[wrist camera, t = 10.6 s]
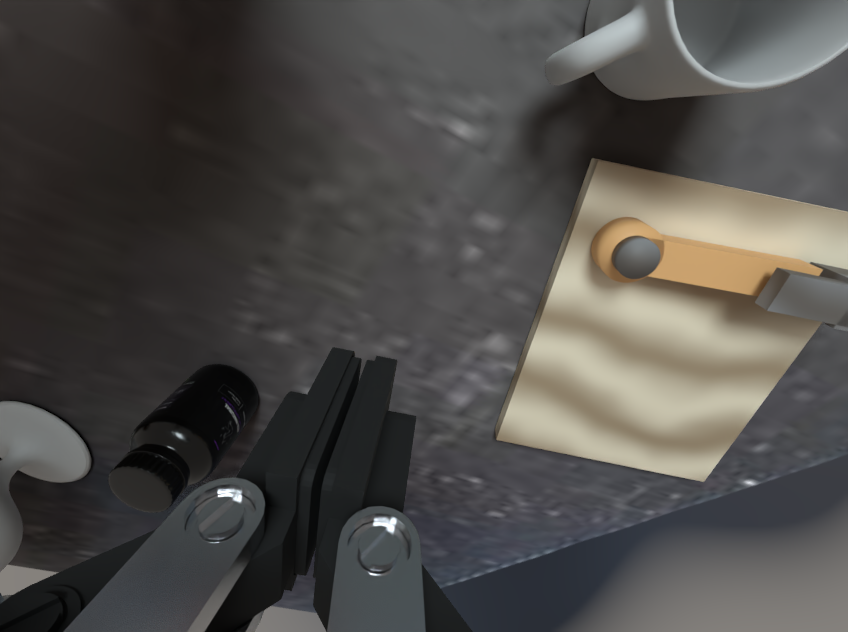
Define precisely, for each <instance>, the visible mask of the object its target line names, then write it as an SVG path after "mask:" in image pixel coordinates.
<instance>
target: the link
mask: <svg viewBox="0 0 848 632" xmlns="http://www.w3.org/2000/svg"><path fill="white" fill-rule="evenodd" d="M630 236H643V237H645V238H647V239H649V240H650V241H652V242H653V243H655V244H656V245H657V247H658V248H659V250H660V261H659V264H658V266H657V267H656V269H655V270H654V271H653V272H652V273H651V274H649V275H647V276H649V277H654V278H660V279H665V280H671V281H676V282H682V283H687V284H693V285H698V286H704V287H709V288H715V289H720V290H726V291H731V292H736V293H742V294H747V295H753V296H759V295H760V293H761V292H762V290H763V288H764V287H765V285H766V284H767V282H768V281H769V279H770V277H771V276H772V274H773V273H774V271H775V270H776V268H777V267H778V268H783V269H787V270H792V271H797V272H802V273H807V274H811V275H816V276H819V275H820V274H821V272H822V271H823V269H821V268H818V267H816V266H814V265H811V264H809V263H807V262H805V261H802V260H800V259H794V258H789V257H784V256H778V255H773V254H767V253H762V252H756V251H751V250H745V249H740V248H734V247H729V246H723V245H718V244H712V243H707V242H701V241H696V240H690V239H685V238H679V237H674V236H668V235H663V234H660V233H659V232H658V231H657V230H656V229H654V228H652V227H651V226H649V225H647V224H646V223H644V222H642V221H641V220H639V219H637V218H633V217H621V218H617V219H614V220H612V221H610V222H608V223H607V224H605V225H604V226H603V227H602V228H601V229H600V230H599V231H598V232H597V234H596V235H595V237H594V240H593V242H592V247H591V252H592V257H593V259H594V261H595V263H596V264H597V265H598V266H599V267H600V269H601V270H602V271H603V272H604V273H605V274H606V275H607V276H608V277H609V278H611V279H612V280H614V281H617V282H622V283H630V282H635V281H639V280H641V279H643V278H645V277H643V278H640V279H629V278H626V277H624V276H623V275H622V274H620V273H619V271H618V270H617V269H616V268H615V267H614V266H613V263H612V253H613V250H614V248H615V247H616V245H617V244H618V243H619V242H620V241H622V240H623V239H625V238H627V237H630ZM647 276H646V277H647Z"/></svg>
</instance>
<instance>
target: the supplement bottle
mask: <svg viewBox="0 0 848 632" xmlns="http://www.w3.org/2000/svg"><path fill="white" fill-rule="evenodd" d="M257 406H258V393H257V390H256V387H255V386H254V384H253V382H252V381H251V380H250V379H249V378H248V377H247V376H246V375H245V374H244V373H242V372H241V371H239V370H237V369H235V368H233V367H230V366H227V365H221V364H213V365H207V366H204V367H202V368H200V369H199V370H197V371H196V372H195V373H194V374H193V375H191V376H190V377H189V378H188V379H187V380H186V381H185V382H184V383H183V384H182V385H181V386H180V387H178V388H177V389H176V390H175V391H174V392H173V393H172V394H171V395H170V396H169V397H168V398H167V399H166V400H165V401H164V402H162V403H161V404H160V405H159V406H158V407H157V408H156V409H155V410H154V411H153V412H152V413H151V414H150V415H149V416H148V417H146V418H145V419H144V420H143V421H142V422H141V423H140V424H139V425H138V426H137V427H136V429H135V430H134V432H133V433H132V436H131V439H130V445H129V448H130V452H128V453H127V454H126V455H125V456H124V457H123V459H122V461H121V462H120V463H119V464H118V465H117V466H116V467H115V468H114V469H113V470H112V471H111V472H110V475H109V476H108V477H109V479H108V482H109V486H110V489H111V490H112V491H113V494H115V495H116V496H117V498H118V499H120V500H121V501H122V502H123V503H125V504H127V505H128V506H131V507H132V508H134V509H138V510H140V511H144V512H151V513H153V512H162V511H163V510H166V509H168V508H169V507H170V506H171V505H172V504H173V503H174V501H175V500H176V499H177V497H178V496H179V495H180V494H181V493H182V492H183V491H184V489H185V488H186V487H187V486H191V485H194V484H197V483H199V482H201V481H203V480H204V479H206V478H207V477H208V476H209V475H210V474H211V473H212V472H213V470H214V469H215V468H216V466H217V465H218V463H219V462H220V461H221V459H222V458H223V456H224V455H225V454H226V452H227V451H228V449H229V448H230V447H231V445H232V444H233V442H234V441H235V440H236V438H237V437H238V435H239V434H240V433H241V431H242V430H243V428H244V427H245V426H246V424H247V423H248V421H249V420H250V419H251V417H252V416H253V414H254V413H255V411H256V409H257Z"/></svg>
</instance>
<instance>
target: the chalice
mask: <svg viewBox="0 0 848 632" xmlns="http://www.w3.org/2000/svg"><path fill="white" fill-rule="evenodd" d="M0 458H2V459H3V460H1V461H0V571H1V570H2V569H4V568H5V567H6V565H7V564H8V563H9V562H10V561H11V560H12V559H13V558H14V556H15V554H16V553H17V551H18V549H19V546H20V544H21V541H22V536H23V524H22V519H21V516H20V513H19V511H18V509H17V507H16V505H15V503H14V501H13V499H12V497H11V495H10V492H9V483H10V480H11V477H12V476H13V475H14V474H15V472H16V471H17V470H19V471H21V472H23V473H25V474H27V475H29V476H32V477H35V478H38V479H41V480H45V481H50V482H61V483H63V482H73V481H76V480H79V479H82V478H83V477H84V476H85V475H87V474H88V472H89V470H90V468H91V457H90V452H89V450H88V448H87V446H86V444H85V442H84V441H83V440H82V439H81V437H80V436H79V435H78V434H77V433H76V432H75V431H74V430H73V429H72V428H71V427H70V426H69V425H68V424H66V423H65V422H64V421H62V420H61V419H59V418H58V417H57V416H55V415H53V414H51V413H49V412H47V411H45V410H44V409H41V408H38V407H36V406H33V405H30V404H26V403H22V402H17V401H1V402H0Z"/></svg>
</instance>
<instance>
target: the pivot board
mask: <svg viewBox="0 0 848 632" xmlns="http://www.w3.org/2000/svg"><path fill="white" fill-rule="evenodd" d="M621 217H633V218H637V219H639V220H641V221H642V222H644V223H646V224H647V225H649V226H651V227H652V228H654V229H656V230H657V231H658V232H659V233H660V234H663V235H668V236H674V237H679V238H685V239H690V240H696V241H701V242H707V243H712V244H718V245H723V246H729V247H734V248H740V249H745V250H751V251H756V252H762V253H767V254H773V255H778V256H784V257H789V258H794V259H800V260H802V261H805V262H807V263H809V264H811V265H814V266H816V267H818V268H821V269H823V271H822V272H821V274H820V275H819V276H816V275H811V274H807V273H802V272H797V271H792V270H787V269H783V268H778V267H777V268H776V270H775V271H774V273H773V274H772V276H771V277H770V279H769V281H768V282H767V284H766V285H765V287H764V288H763V290H762V292H761V293H760V295H759V296H753V295H747V294H742V293H736V292H731V291H726V290H720V289H715V288H709V287H704V286H698V285H693V284H687V283H682V282H676V281H671V280H665V279H660V278H654V277H649V276H647V275H649V274H651V273H652V272H653V271H654V270H655V269H656V267H657V266H658V264H659V261H660V250H659V248H658V247H657V245H656V244H655V243H653V242H652V241H650V240H649V239H647V238H645V237H643V236H630V237H627V238H625V239H623V240H622V241H620V242H619V243H618V244H617V245H616V247H615V248H614V250H613V253H612V263H613V266H614V267H615V268H616V269H617V270H618V271H619V273H620V274H622V275H623V276H624V277H626V278H629V279H640V278H643V277H645V278H643V279H641V280H639V281H635V282H630V283H622V282H617V281H614V280H612V279H611V278H609V277H608V276H607V275H606V274H605V273H604V272H603V271H602V270H601V269H600V267H599V266H598V265H597V264H596V263H595V261H594V259H593V257H592V252H591V247H592V242H593V240H594V237H595V235H596V234H597V232H598V231H599V230H600V229H601V228H602V227H603V226H604V225H605V224H607V223H608V222H610V221H612V220H614V219H617V218H621ZM646 276H647V277H646ZM822 322H823V323H825V324H827V325H829V326H830V327H832V328H834V329H839V330H844V331H848V212H846V211H841V210H837V209H832V208H827V207H822V206H818V205H813V204H808V203H803V202H799V201H794V200H789V199H784V198H780V197H775V196H770V195H766V194H761V193H756V192H751V191H747V190H742V189H737V188H732V187H728V186H723V185H718V184H713V183H709V182H704V181H699V180H694V179H690V178H685V177H680V176H675V175H671V174H666V173H661V172H657V171H652V170H647V169H642V168H638V167H633V166H628V165H623V164H619V163H614V162H609V161H604V160H600V159H595V158H592V159H591V162H590V165H589V167H588V170H587V173H586V176H585V179H584V181H583V184H582V187H581V190H580V193H579V195H578V198H577V201H576V204H575V207H574V209H573V212H572V215H571V218H570V220H569V223H568V226H567V229H566V232H565V234H564V237H563V240H562V243H561V246H560V248H559V251H558V254H557V257H556V260H555V262H554V265H553V268H552V271H551V274H550V276H549V279H548V282H547V285H546V287H545V290H544V293H543V296H542V299H541V301H540V304H539V307H538V310H537V313H536V315H535V318H534V321H533V324H532V327H531V329H530V332H529V335H528V338H527V341H526V343H525V346H524V349H523V352H522V355H521V357H520V360H519V363H518V366H517V368H516V371H515V374H514V377H513V380H512V382H511V385H510V388H509V391H508V394H507V396H506V399H505V402H504V405H503V408H502V410H501V413H500V416H499V419H498V422H497V424H496V427H495V433H496V440H500V441H505V442H510V443H515V444H520V445H524V446H529V447H534V448H539V449H544V450H549V451H554V452H559V453H564V454H569V455H574V456H579V457H584V458H589V459H593V460H598V461H603V462H608V463H613V464H618V465H623V466H628V467H633V468H638V469H643V470H648V471H653V472H658V473H663V474H667V475H672V476H677V477H682V478H687V479H692V480H697V481H702V482H704V481H705V479H706V478H707V477H708V475H709V474H710V473H711V471H712V470H713V469H714V467H715V466H716V465H717V463H718V462H719V461H720V459H721V458H722V457H723V455H724V454H725V452H726V451H727V450H728V448H729V447H730V446H731V444H732V443H733V442H734V440H735V439H736V438H737V436H738V435H739V434H740V432H741V431H742V430H743V428H744V427H745V426H746V424H747V423H748V421H749V420H750V419H751V417H752V416H753V415H754V413H755V412H756V411H757V409H758V408H759V407H760V405H761V404H762V403H763V401H764V400H765V399H766V397H767V396H768V395H769V393H770V392H771V390H772V389H773V388H774V386H775V385H776V384H777V382H778V381H779V380H780V378H781V377H782V376H783V374H784V373H785V372H786V370H787V369H788V368H789V366H790V365H791V364H792V362H793V361H794V360H795V358H796V357H797V355H798V354H799V353H800V351H801V350H802V349H803V347H804V346H805V345H806V343H807V342H808V341H809V339H810V338H811V337H812V335H813V334H814V333H815V331H816V330H817V329H818V327H819V326H820V324H821V323H822Z"/></svg>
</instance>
